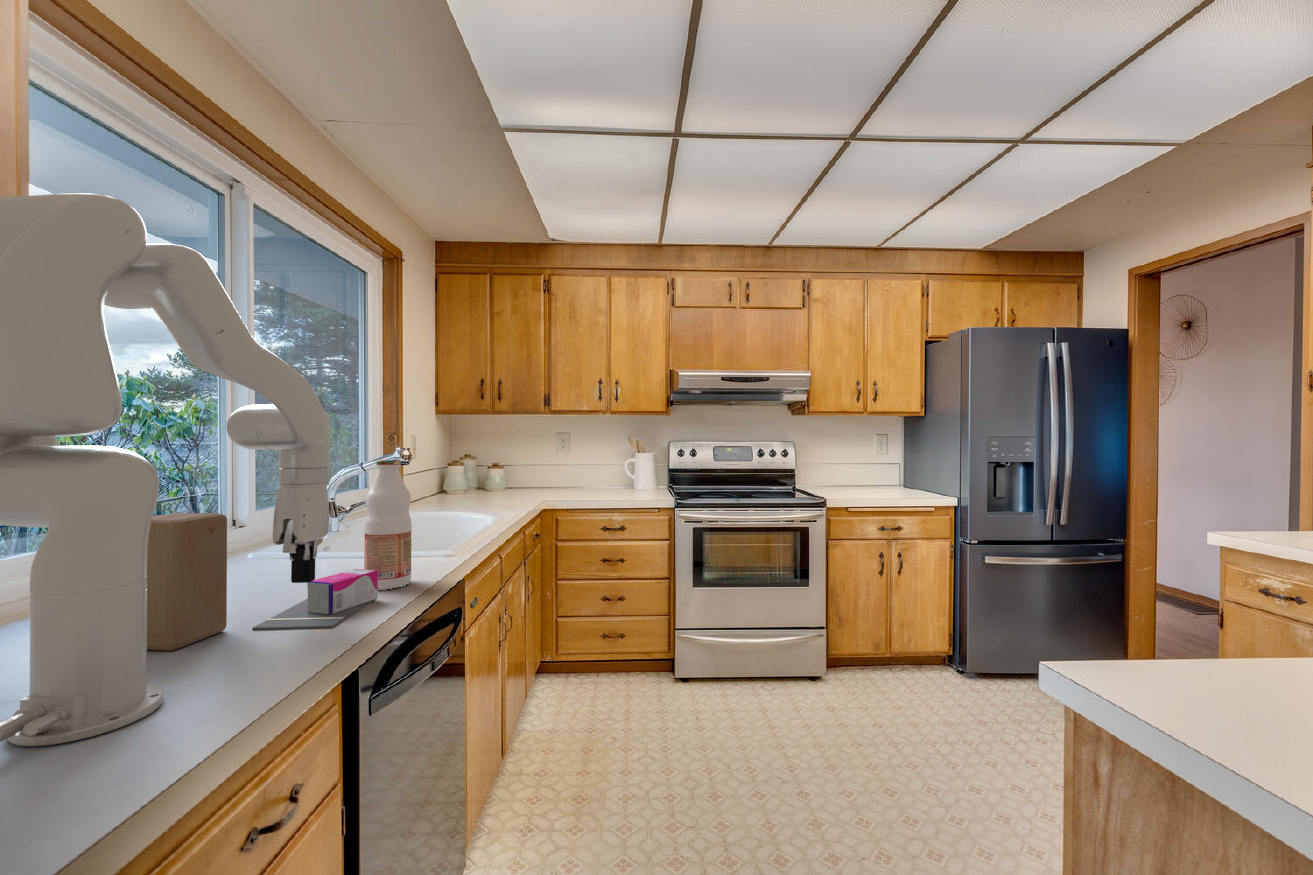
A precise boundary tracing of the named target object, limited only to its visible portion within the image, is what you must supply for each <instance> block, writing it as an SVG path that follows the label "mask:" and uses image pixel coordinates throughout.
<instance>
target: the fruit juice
mask: <svg viewBox="0 0 1313 875" xmlns="http://www.w3.org/2000/svg"><path fill="white" fill-rule="evenodd" d="M401 465H402V461H401V459H377V460H376V468H377V471H376V475H375V478H374V480H373V483H372V485H371V487H370V489H369V491H368V492H367V493H366V496H365V502H364V503H365V507H366V510H367V516H366V518H365V522H364V558H363V559H364V564H363V565H364V567H363V568H364V570H378V591H388V590H387V589H391V590H393V589H392V588H396V587H401V586H404V585H406V584H408V583H411V581H412V527H413V526H412V519H411V515H410V512H409V509H410V506H411V501H412V499H411V498H412V497H411V496H412V495H411V493H410V491H409V490H408V488H407V486H406V485H405V482H404V479H403V477H402V473H401V472H400V468H401ZM404 587H405V586H404ZM401 588H402V587H401Z"/></svg>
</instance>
